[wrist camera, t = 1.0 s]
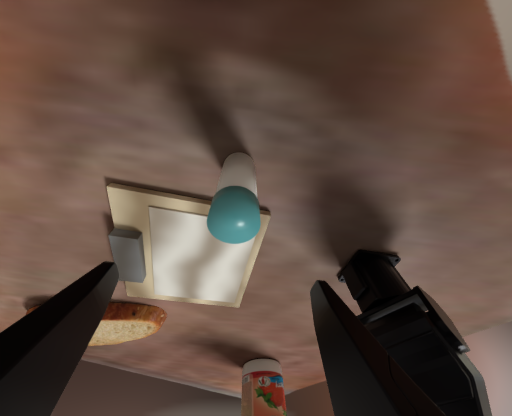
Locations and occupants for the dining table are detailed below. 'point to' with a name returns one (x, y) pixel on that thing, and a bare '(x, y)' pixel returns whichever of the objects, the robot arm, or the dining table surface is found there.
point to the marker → (235, 202)
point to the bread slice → (126, 323)
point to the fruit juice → (262, 389)
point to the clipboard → (176, 249)
